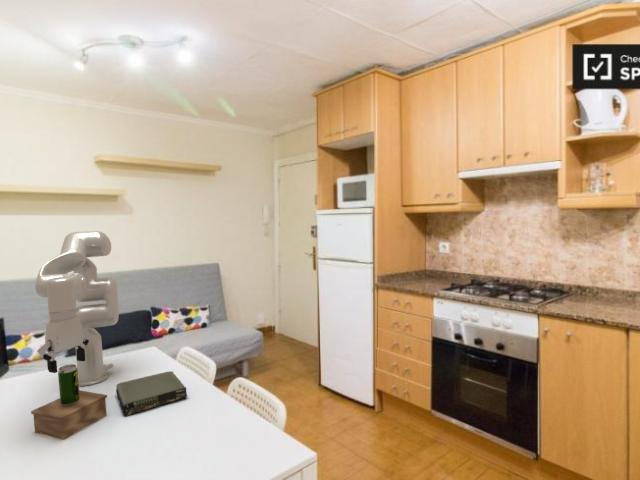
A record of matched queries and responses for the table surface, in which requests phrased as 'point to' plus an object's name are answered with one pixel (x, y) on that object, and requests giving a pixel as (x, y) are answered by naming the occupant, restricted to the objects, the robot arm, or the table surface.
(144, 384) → the network switch
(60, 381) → the beer can
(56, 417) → the wooden block
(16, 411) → the table surface
